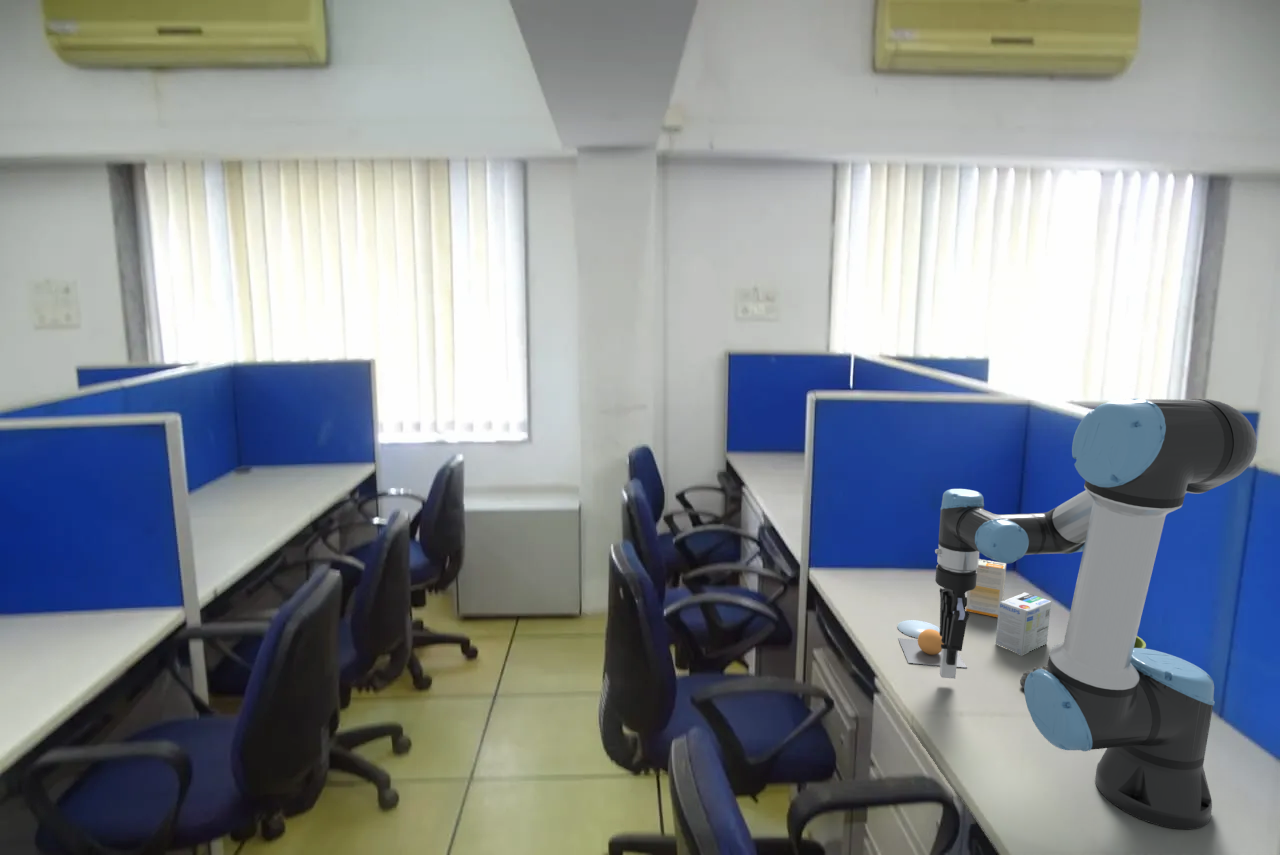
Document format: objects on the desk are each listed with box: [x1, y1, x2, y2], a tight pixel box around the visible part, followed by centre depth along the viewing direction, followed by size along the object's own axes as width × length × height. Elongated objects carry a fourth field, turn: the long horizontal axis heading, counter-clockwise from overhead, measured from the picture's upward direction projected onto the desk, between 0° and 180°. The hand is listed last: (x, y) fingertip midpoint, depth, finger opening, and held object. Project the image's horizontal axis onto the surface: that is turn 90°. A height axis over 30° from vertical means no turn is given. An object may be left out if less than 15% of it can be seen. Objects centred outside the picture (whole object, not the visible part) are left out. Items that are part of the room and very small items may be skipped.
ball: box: [917, 629, 944, 655], centre depth 163 cm, size 6×6×6 cm
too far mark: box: [897, 619, 940, 639], centre depth 176 cm, size 10×10×1 cm
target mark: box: [898, 637, 968, 669], centre depth 164 cm, size 12×12×1 cm
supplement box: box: [965, 558, 1007, 618], centre depth 185 cm, size 8×5×13 cm, turn 58°
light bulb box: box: [995, 591, 1052, 656], centre depth 168 cm, size 11×7×11 cm, turn 123°
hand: (947, 676), depth 150 cm, fingers closed
